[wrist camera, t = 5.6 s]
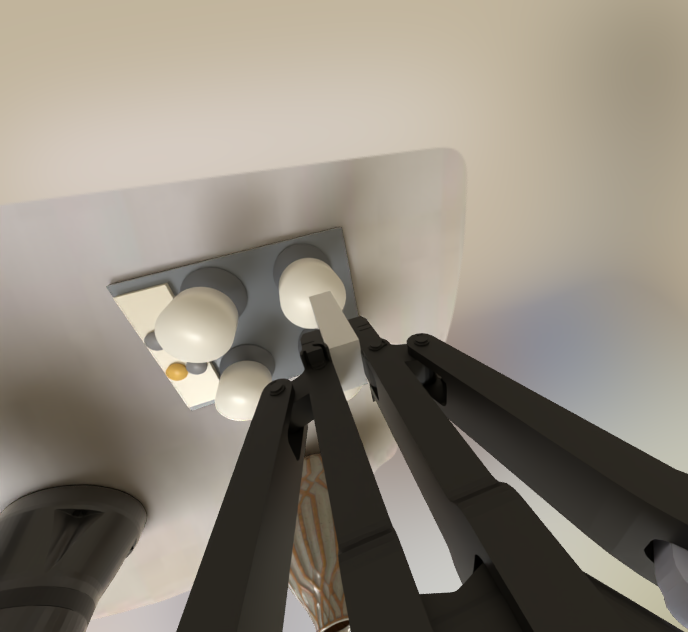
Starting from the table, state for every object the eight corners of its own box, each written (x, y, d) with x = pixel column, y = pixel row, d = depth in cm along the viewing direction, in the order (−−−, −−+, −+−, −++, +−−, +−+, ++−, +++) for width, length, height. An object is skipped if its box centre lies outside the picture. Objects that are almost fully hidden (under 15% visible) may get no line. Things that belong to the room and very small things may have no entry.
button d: (287, 311, 25) (291, 336, 21) (270, 261, 23) (270, 277, 19) (337, 297, 26) (351, 318, 22) (325, 246, 24) (338, 258, 19)
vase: (260, 454, 37) (255, 638, 22) (347, 428, 39) (398, 577, 24) (280, 504, 43) (286, 676, 28) (354, 479, 45) (398, 624, 30)
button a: (233, 393, 30) (228, 427, 26) (214, 358, 28) (204, 390, 23) (277, 379, 31) (279, 410, 26) (262, 344, 28) (261, 371, 24)
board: (192, 407, 31) (189, 416, 29) (109, 284, 23) (100, 290, 22) (364, 350, 34) (368, 357, 33) (340, 226, 26) (343, 228, 25)
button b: (193, 339, 24) (177, 371, 20) (164, 288, 22) (138, 312, 17) (248, 323, 25) (244, 350, 20) (227, 272, 22) (217, 291, 18)
